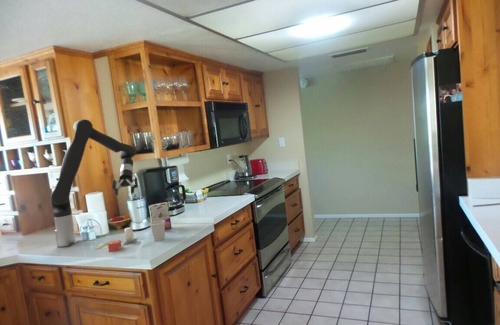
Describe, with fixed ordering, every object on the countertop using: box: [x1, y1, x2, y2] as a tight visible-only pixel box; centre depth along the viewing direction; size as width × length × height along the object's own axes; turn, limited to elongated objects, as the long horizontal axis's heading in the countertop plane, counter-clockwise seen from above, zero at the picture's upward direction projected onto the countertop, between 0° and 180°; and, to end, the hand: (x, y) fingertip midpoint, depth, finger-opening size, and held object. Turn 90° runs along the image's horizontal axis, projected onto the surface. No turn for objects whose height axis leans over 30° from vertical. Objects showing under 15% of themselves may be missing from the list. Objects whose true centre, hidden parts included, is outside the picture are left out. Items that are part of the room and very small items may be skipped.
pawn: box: [124, 226, 135, 243], centre depth 184 cm, size 4×4×8 cm
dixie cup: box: [149, 220, 166, 242], centre depth 187 cm, size 8×8×10 cm
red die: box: [108, 239, 122, 252], centre depth 174 cm, size 5×5×5 cm
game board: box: [94, 237, 139, 251], centre depth 184 cm, size 21×12×1 cm, turn 99°
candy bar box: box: [148, 201, 172, 231], centre depth 207 cm, size 11×5×16 cm, turn 117°
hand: (124, 193), depth 199 cm, fingers open, 8 cm apart
